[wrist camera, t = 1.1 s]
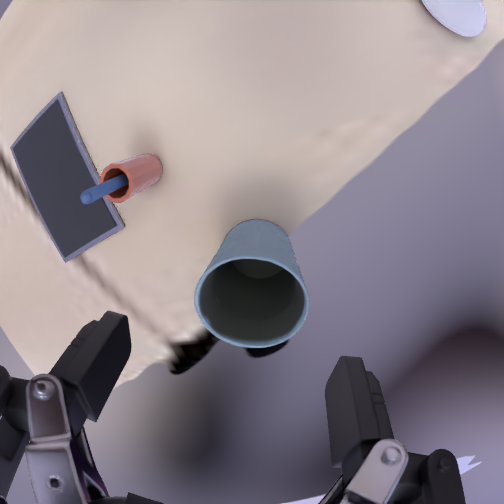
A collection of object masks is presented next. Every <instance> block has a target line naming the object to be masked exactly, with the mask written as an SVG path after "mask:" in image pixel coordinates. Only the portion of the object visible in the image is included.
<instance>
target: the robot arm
mask: <svg viewBox="0 0 504 504" xmlns="http://www.w3.org/2000/svg"><path fill="white" fill-rule="evenodd" d="M130 353H131V338H130V331H129V323H128V318H127V316H126V315H122V314H119V313H115V312H112V311H107V312H106V313H105V314H104V315H103V317H102V318H101V319H100V320H99V321H96V320H93V321H91V322H90V323H88V324H87V325H85V326H84V327H83V328H82V329H81V330H80V332H79V333H78V334H77V335H76V338H74V339H73V341H72V342H71V345H69V346H68V347H67V349H66V350H65V352H64V353H63V354H62V356H61V357H60V358H59V360H58V361H57V363H56V364H55V365H54V367H53V368H52V370H51V371H50V372H49V373H48V374H39V375H37V376H35V377H33V378H32V379H31V380H24V379H19V378H14V377H10V375H9V373H8V371H7V370H6V369H5V368H4V367H3V366H1V365H0V416H1V415H2V418H1V419H0V504H7V501H6V497H7V494H8V491H9V488H10V486H11V483H12V481H13V478H14V476H15V473H16V471H17V468H18V466H19V464H20V461H21V458H22V456H23V454H24V452H25V454H26V459H27V465H28V470H29V475H30V479H31V483H32V487H33V491H34V495H35V499H36V503H37V504H163V503H161V502H157V501H154V500H151V499H147V498H144V497H141V496H138V495H135V494H132V493H128V495H127V497H110V496H109V494H108V491H107V489H106V486H105V484H104V482H103V480H102V478H101V477H100V475H99V473H98V471H97V468H96V466H95V463H94V460H93V457H92V454H91V450H90V447H89V444H88V440H87V437H86V433H85V430H84V426H83V424H84V423H85V421H86V419H89V420H92V421H94V422H97V419H98V417H99V415H100V413H101V411H102V409H103V407H104V405H105V403H106V401H107V399H108V397H109V395H110V393H111V391H112V389H113V388H114V386H115V384H116V382H117V380H118V378H119V376H120V374H121V372H122V370H123V368H124V367H125V365H126V363H127V361H128V359H129V357H130ZM325 399H326V408H327V418H328V427H329V438H330V448H331V461H332V468H334V467H342V471H343V474H342V475H341V476H340V477H339V478H338V480H337V481H336V482H335V484H334V485H333V486H332V487H331V489H330V490H329V491H328V493H327V494H326V495H325V496H324V497H323V499H322V500H321V501H320V502H319V503H318V504H386V503H387V504H466V503H465V497H464V492H463V487H462V482H461V477H460V473H459V468H458V464H457V460H456V458H455V456H454V455H453V454H452V453H451V452H450V451H448V450H445V449H438V450H435V451H434V452H433V453H431V454H430V455H429V456H427V455H421V454H415V453H410V452H407V449H406V448H405V446H404V445H403V444H402V443H400V442H399V441H397V440H395V439H394V436H393V432H392V429H391V424H390V420H389V416H388V413H387V409H386V405H385V404H384V398H383V395H382V391H381V387H380V384H379V381H378V380H377V379H376V377H375V376H374V375H373V373H372V372H369V371H366V370H365V367H364V363H363V360H362V358H360V357H348V356H341V357H340V358H339V360H338V362H337V364H336V366H335V368H334V370H333V372H332V374H331V376H330V378H329V379H328V382H327V384H326V389H325ZM29 441H30V443H29Z"/></svg>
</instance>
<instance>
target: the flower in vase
mask: <svg viewBox="0 0 504 504" xmlns="http://www.w3.org/2000/svg"><path fill="white" fill-rule="evenodd" d="M421 1H422V2H423V4H424V5H425V7H426V8H427V10H428V11H429V12H430V13H431V14H432V15H433V16H434V18H436V19H437V20H438V21H439V22H440V23H441V24H442V25H444V26H445V27H447V28H448V29H450V30H451V31H453V32H455V33H457V34H459V35H462V36H466V37H475V36H478V35H479V34H480V33H481V32H482V31H483V29H484V28H485V25H486V13H485V8H484V5H483V3H482V1H481V0H421Z"/></svg>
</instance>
